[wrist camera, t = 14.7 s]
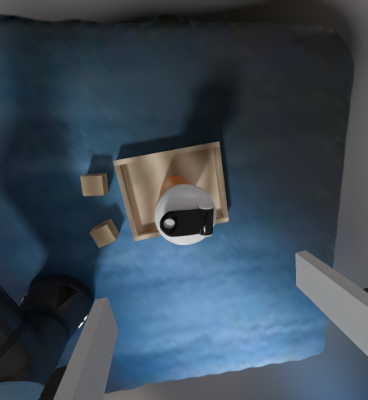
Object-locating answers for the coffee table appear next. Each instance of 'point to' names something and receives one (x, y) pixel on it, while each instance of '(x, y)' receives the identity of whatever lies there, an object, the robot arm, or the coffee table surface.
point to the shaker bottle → (184, 212)
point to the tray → (163, 169)
